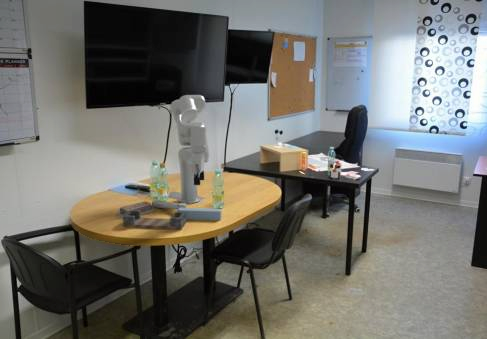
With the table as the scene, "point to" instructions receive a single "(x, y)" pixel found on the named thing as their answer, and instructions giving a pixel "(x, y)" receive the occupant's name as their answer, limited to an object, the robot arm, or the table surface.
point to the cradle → (154, 221)
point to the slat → (201, 213)
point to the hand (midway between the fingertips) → (199, 182)
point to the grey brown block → (136, 208)
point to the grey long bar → (167, 205)
